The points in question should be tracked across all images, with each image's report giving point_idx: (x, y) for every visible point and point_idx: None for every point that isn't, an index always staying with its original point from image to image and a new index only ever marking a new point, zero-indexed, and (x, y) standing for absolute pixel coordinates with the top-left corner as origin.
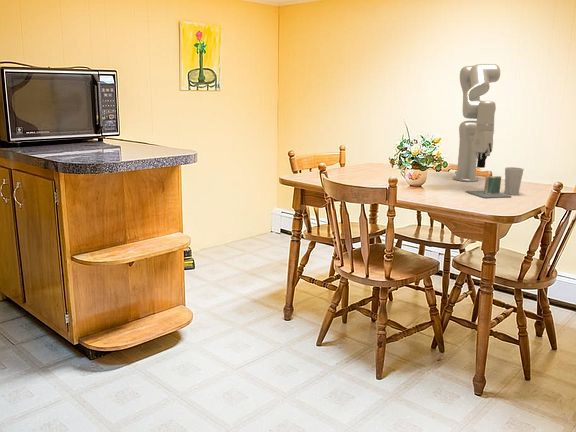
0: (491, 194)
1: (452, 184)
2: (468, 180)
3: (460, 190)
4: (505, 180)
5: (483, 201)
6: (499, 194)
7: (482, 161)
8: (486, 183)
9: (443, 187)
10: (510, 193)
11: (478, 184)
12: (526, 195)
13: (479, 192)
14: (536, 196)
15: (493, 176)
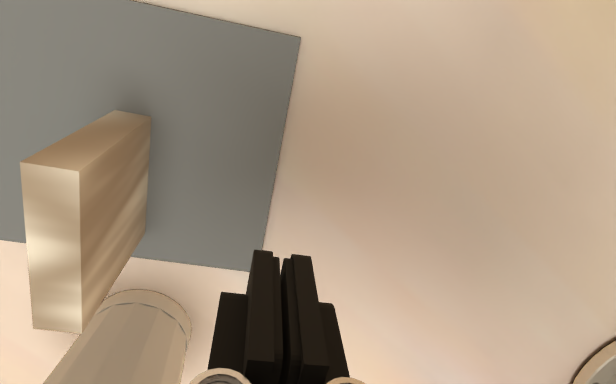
0: None
1: (605, 195)
2: (596, 362)
3: (387, 58)
4: (127, 368)
5: None
6: None
7: (210, 361)
8: (84, 137)
9: (571, 11)
10: (105, 303)
11: (492, 353)
12: None
13: (197, 108)
14: None
15: (55, 256)
